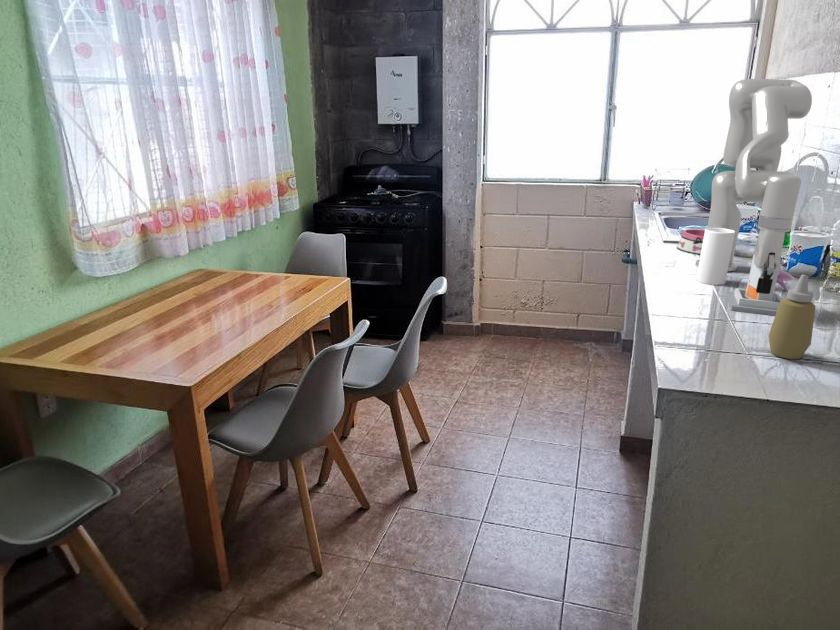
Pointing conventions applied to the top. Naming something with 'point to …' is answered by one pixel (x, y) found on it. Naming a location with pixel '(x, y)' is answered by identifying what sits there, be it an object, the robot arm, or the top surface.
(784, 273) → the lily
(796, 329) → the squeeze bottle
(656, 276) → the top surface
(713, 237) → the cup
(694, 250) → the dog bowl
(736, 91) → the robot arm
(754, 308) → the grey square frame
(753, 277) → the skincare box
